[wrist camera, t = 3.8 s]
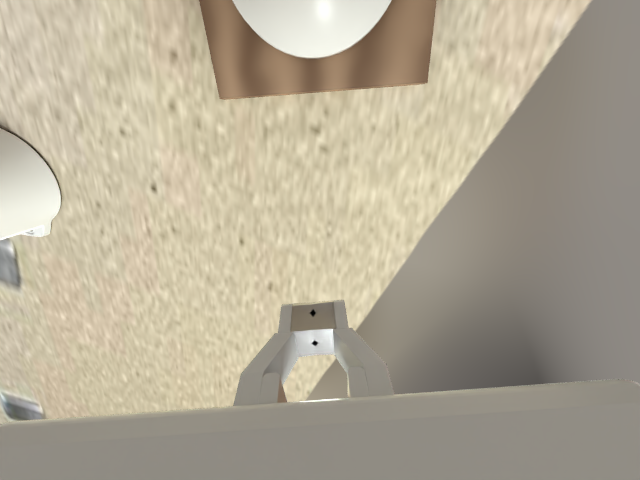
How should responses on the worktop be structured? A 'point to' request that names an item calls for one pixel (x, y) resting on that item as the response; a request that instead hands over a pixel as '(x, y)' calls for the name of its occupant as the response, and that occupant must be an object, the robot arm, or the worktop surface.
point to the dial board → (324, 73)
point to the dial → (312, 23)
